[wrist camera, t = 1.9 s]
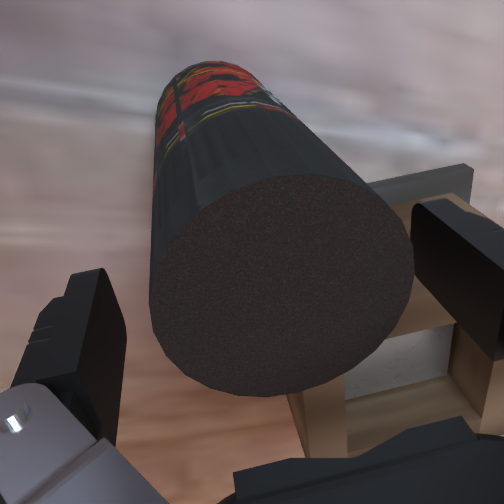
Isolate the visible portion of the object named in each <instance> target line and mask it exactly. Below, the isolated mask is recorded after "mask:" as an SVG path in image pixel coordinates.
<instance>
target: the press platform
mask: <svg viewBox="0 0 504 504" xmlns="http://www.w3.org/2000/svg"><path fill="white" fill-rule="evenodd" d="M453 327H454V323H452V324H448V325H444V326H440V327H436V328H431V329H427V330H423V331H419V332H414V333H410V334H406V335H402V336H397V337H393V338H389V339H385V340H384V341H383V343H382V344H381V345H380V346H379V347H378V348H377V350H376V351H374V352H373V353H372V354H371V355H369V356H368V357H367V358H366V359H364V360H363V361H362V362H361V363H359V364H358V365H357V366H355V367H354V368H353V369H351V370H350V371H348V372H346V373H344V382H345V400H347V399H352V398H356V397H360V396H364V395H368V394H372V393H376V392H380V391H384V390H388V389H392V388H396V387H400V386H404V385H409V384H413V383H417V382H421V381H425V380H429V379H433V378H437V377H441V376H445V375H447V371H448V364H449V356H450V349H451V342H452V334H453Z"/></svg>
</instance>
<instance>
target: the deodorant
mask: <svg viewBox="0 0 504 504" xmlns="http://www.w3.org/2000/svg"><path fill="white" fill-rule="evenodd" d="M414 276H415V268H414V253H413V245H412V243H411V240H410V238H409V236H408V233H407V231H406V228H405V226H404V224H403V221H402V220H401V218H400V217H399V216H398V215H397V214H396V213H395V212H394V211H393V210H392V209H391V208H390V206H389V205H388V204H387V203H386V202H385V201H384V200H383V199H382V198H381V197H380V196H379V195H378V194H377V193H376V192H375V191H374V190H373V189H372V188H371V187H370V186H369V185H368V184H367V183H365V182H364V181H363V180H362V179H361V178H360V177H359V176H358V175H357V174H356V173H355V172H354V171H353V170H352V169H351V168H350V167H349V166H348V165H347V164H346V163H344V162H343V161H342V160H341V159H340V158H339V157H338V156H337V155H336V154H335V153H334V152H333V151H332V150H331V149H330V148H329V147H328V146H327V145H326V144H324V143H323V142H322V141H321V140H320V139H319V138H318V137H317V136H316V135H315V134H314V133H313V132H312V131H311V130H310V129H309V128H308V127H307V126H306V125H305V124H303V123H302V122H301V121H300V120H299V119H298V118H297V117H296V116H295V115H294V114H293V113H292V112H291V111H290V110H289V109H288V108H287V107H286V106H285V105H283V104H282V103H281V102H280V101H279V100H278V99H277V98H276V97H275V96H274V95H273V94H272V93H271V92H270V91H269V90H268V89H267V88H266V87H265V86H264V85H262V84H261V83H260V82H259V81H258V80H257V79H256V78H255V77H254V76H253V75H252V74H251V73H249V72H248V71H246V70H244V69H243V68H241V67H239V66H238V65H235V64H231V63H227V62H223V61H205V62H201V63H198V64H195V65H192V66H189V67H188V68H186V69H185V70H183V71H182V72H180V73H179V74H177V75H176V76H175V77H174V78H173V79H172V80H171V81H170V83H169V84H168V85H167V86H166V87H165V89H164V91H163V93H162V96H161V98H160V100H159V102H158V107H157V113H156V123H155V150H154V176H153V203H152V230H151V256H150V283H149V307H150V314H151V320H152V327H153V332H154V334H155V336H156V338H157V339H158V341H159V343H160V345H161V347H162V349H163V351H164V353H165V355H166V356H167V357H168V358H169V359H170V360H171V361H172V362H173V363H174V364H175V365H176V366H177V367H178V368H179V369H180V370H181V371H182V372H183V373H184V374H185V375H187V376H189V377H190V378H192V379H194V380H196V381H198V382H200V383H201V384H203V385H205V386H207V387H209V388H211V389H215V390H219V391H223V392H226V393H230V394H234V395H238V396H257V397H271V396H278V395H285V394H292V393H298V392H301V391H304V390H307V389H310V388H313V387H316V386H319V385H322V384H325V383H327V382H329V381H331V380H333V379H335V378H337V377H338V376H340V375H342V374H344V373H346V372H348V371H350V370H351V369H353V368H354V367H355V366H357V365H358V364H359V363H361V362H362V361H363V360H364V359H366V358H367V357H368V356H369V355H371V354H372V353H373V352H374V351H376V350H377V348H378V347H379V346H380V345H381V344H382V343H383V341H384V340H385V339H386V338H387V337H388V335H389V334H390V333H391V332H392V331H393V330H394V328H395V327H396V325H397V323H398V321H399V319H400V317H401V315H402V314H403V312H404V310H405V308H406V306H407V304H408V302H409V298H410V293H411V289H412V285H413V280H414Z"/></svg>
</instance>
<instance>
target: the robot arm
mask: <svg viewBox="0 0 504 504" xmlns="http://www.w3.org/2000/svg"><path fill="white" fill-rule="evenodd" d="M410 240H411V243H412V245H413V253H414V268H415V276H416V278H417V279H418V280H419V281H420V282H421V283H422V284H423V285H424V286H425V288H426V289H427V290H428V291H429V292H430V293H431V294H432V295H433V296H434V297H435V299H436V300H437V301H438V302H439V303H440V304H441V305H442V306H443V307H444V309H445V310H446V311H447V312H448V313H449V314H450V315H451V316H452V317H453V318H454V320H455V321H456V322H457V323H458V324H459V325H460V326H461V327H462V328H463V330H464V331H465V332H466V333H467V334H468V335H469V336H470V337H471V338H472V339H473V341H474V342H475V343H476V344H477V345H478V346H479V347H480V348H481V349H482V350H483V352H484V353H485V354H486V355H487V356H488V357H489V358H490V359H491V360H492V362H495V361H499V360H503V359H504V231H503V228H502V227H500V226H499V225H497V224H496V223H494V222H493V221H491V220H490V219H488V218H485V217H483V216H480V215H477V214H474V213H471V212H466V211H464V210H463V209H461V208H460V207H459V206H457V205H456V204H454V203H453V202H452V201H450V200H449V199H447V198H439V199H435V200H430V201H425V202H420V203H416V204H415V205H414V206H413V208H412V213H411V230H410ZM28 342H29V345H27V346H26V349H25V351H24V354H23V357H22V359H21V362H20V364H19V367H18V369H17V372H16V374H15V377H14V379H13V382H12V384H11V387H10V388H9V389H7V390H5V391H3V392H1V393H0V504H169V503H168V502H167V501H166V500H165V499H164V498H163V497H162V496H161V495H160V494H159V492H158V491H157V490H156V489H155V488H154V487H153V486H152V485H151V484H150V483H149V482H148V481H147V480H146V479H145V478H144V477H143V476H142V475H141V474H140V473H139V472H138V471H137V470H136V469H135V468H134V467H133V466H132V465H131V464H130V463H129V462H128V461H127V460H126V458H125V457H124V456H123V455H122V454H121V453H120V452H119V451H118V450H117V449H116V448H115V446H116V436H117V427H118V418H119V408H120V399H121V390H122V380H123V371H124V362H125V353H126V343H127V333H126V326H125V321H124V318H123V315H122V312H121V309H120V307H119V304H118V301H117V299H116V296H115V293H114V291H113V288H112V285H111V283H110V280H109V277H108V275H107V273H106V271H105V270H104V269H103V268H99V269H94V270H89V271H85V272H80V273H75V274H72V275H71V276H70V279H69V282H68V285H67V288H66V291H65V294H64V296H62V297H57V298H53V299H52V300H51V301H50V303H49V304H48V305H47V306H46V307H45V308H44V309H43V310H42V311H41V312H40V313H39V316H38V318H37V321H36V324H35V326H34V332H32V334H31V336H30V339H29V341H28ZM233 478H234V485H235V493H233V494H231V495H229V496H228V497H226V498H224V499H223V500H222V501H220V502H219V503H217V504H504V437H502V436H497V435H490V434H481V433H474V432H473V431H472V429H471V428H470V427H469V425H468V424H467V422H466V421H465V420H464V418H463V417H462V415H461V416H457V417H453V418H449V419H445V420H441V421H437V422H433V423H429V424H425V425H421V426H417V427H413V428H409V429H406V430H404V431H403V432H401V433H399V434H397V435H395V436H394V437H392V438H390V439H388V440H387V441H385V442H383V443H381V444H379V445H378V446H376V447H374V448H372V449H370V450H369V451H367V452H365V453H363V454H362V455H359V456H357V457H353V458H289V459H285V460H281V461H277V462H273V463H269V464H265V465H261V466H257V467H253V468H249V469H245V470H241V471H237V472H233Z"/></svg>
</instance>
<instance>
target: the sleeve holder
mask: <svg viewBox="0 0 504 504" xmlns="http://www.w3.org/2000/svg"><path fill="white" fill-rule="evenodd" d="M473 173H474V169H473V168H471V167H469V166H468V165H466V164H464V163H463V164H458V165H453V166H448V167H444V168H439V169H434V170H429V171H424V172H419V173H415V174H410V175H405V176H400V177H395V178H391V179H386V180H381V181H376V182H371V183H367V184H368V185H369V186H370V187H371V188H372V189H373V190H374V191H375V192H376V193H377V194H378V195H379V196H380V197H381V198H382V199H383V200H384V201H385V202H386V203H387V204H388V205H389V206H390V208H391V209H392V210H393V211H394V212H395V213H396V214H397V215H398V216H399V217H400V218H401V220H402V221H403V224H404V226H405V228H406V231H407V233H408V236H409V238H410V230H411V213H412V208H413V206H414V205H415V204H416V203H420V202H425V201H430V200H435V199H439V198H447V199H449V200H450V201H452V202H453V203H454V204H456V205H457V206H459V207H460V208H461V209H463V210H464V211H466V212H471V213H474V214H477V215H480V216H483V217H485V218H488V217H486V216H485V215H484V214H482V213H481V212H479V211H478V210H476V209H475V208H474V207H472V206H471V205H469V203H470V195H471V188H472V180H473ZM488 219H489V218H488ZM490 220H491V219H490ZM491 221H492V220H491ZM494 223H495V222H494ZM497 225H498V224H497ZM500 227H501V226H500ZM503 231H504V229H503ZM452 323H454V327H453V334H452V342H451V349H450V356H449V364H448V371H447V375H445V376H441V377H437V378H433V379H429V380H425V381H421V382H417V383H413V384H409V385H404V386H400V387H396V388H392V389H388V390H384V391H380V392H376V393H372V394H368V395H364V396H360V397H356V398H352V399H347V400H345V382H344V374H342V375H340V376H338V377H337V378H335V379H333V380H331V381H329V382H327V383H325V384H322V385H319V386H316V387H313V388H310V389H307V390H304V391H301V392H298V393H292V394H286V396H287V399H288V402H289V406H290V409H291V412H292V415H293V419H294V422H295V425H296V428H297V432H298V435H299V438H300V441H301V445H302V448H303V451H304V454H305V458H353V457H357V456H359V455H362V454H363V453H365V452H367V451H369V450H370V449H372V448H374V447H376V446H378V445H379V444H381V443H383V442H385V441H387V440H388V439H390V438H392V437H394V436H395V435H397V434H399V433H401V432H403V431H404V430H406V429H409V428H413V427H417V426H421V425H425V424H429V423H433V422H437V421H441V420H445V419H449V418H453V417H457V416H461V415H462V417H463V418H464V420H465V421H466V422H467V424H468V425H469V427H470V428H471V429H472V431H473V432H474V433H481V434H490V435H497V436H499V435H503V434H504V359H503V360H499V361H495V362H492V360H491V359H490V358H489V357H488V356H487V355H486V354H485V353H484V352H483V350H482V349H481V348H480V347H479V346H478V345H477V344H476V343H475V342H474V341H473V339H472V338H471V337H470V336H469V335H468V334H467V333H466V332H465V331H464V330H463V328H462V327H461V326H460V325H459V324H458V323H457V322H456V321H455V320H454V318H453V317H452V316H451V315H450V314H449V313H448V312H447V311H446V310H445V309H444V307H443V306H442V305H441V304H440V303H439V302H438V301H437V300H436V299H435V297H434V296H433V295H432V294H431V293H430V292H429V291H428V290H427V289H426V288H425V286H424V285H423V284H422V283H421V282H420V281H419V280H418V279H417V278H416V276H414V280H413V285H412V289H411V293H410V298H409V302H408V304H407V306H406V308H405V310H404V312H403V314H402V315H401V317H400V319H399V321H398V323H397V325H396V327H395V328H394V330H393V331H392V332H391V333H390V334H389V335H388V337H387V338H386V339H389V338H393V337H397V336H402V335H406V334H410V333H414V332H419V331H423V330H427V329H431V328H436V327H440V326H444V325H448V324H452Z"/></svg>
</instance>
